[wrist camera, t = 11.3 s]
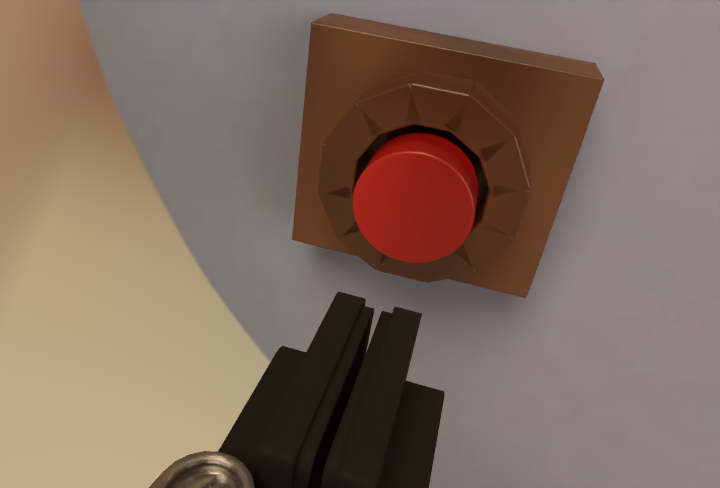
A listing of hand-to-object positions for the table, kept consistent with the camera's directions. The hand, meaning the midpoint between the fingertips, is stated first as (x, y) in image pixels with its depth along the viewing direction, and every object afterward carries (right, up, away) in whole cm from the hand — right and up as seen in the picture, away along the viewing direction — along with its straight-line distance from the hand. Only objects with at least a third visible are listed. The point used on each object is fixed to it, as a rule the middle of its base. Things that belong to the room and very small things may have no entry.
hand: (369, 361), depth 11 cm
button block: (+3, +6, +10) cm, 12 cm away
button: (+2, +4, +7) cm, 8 cm away
